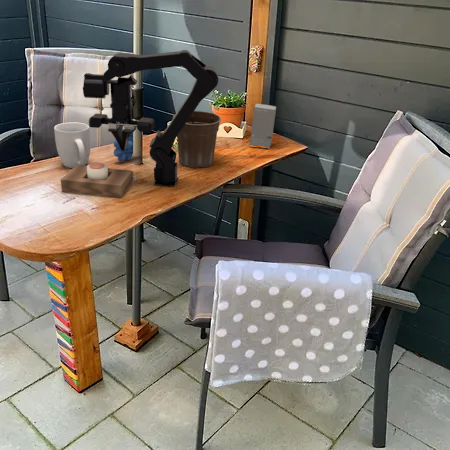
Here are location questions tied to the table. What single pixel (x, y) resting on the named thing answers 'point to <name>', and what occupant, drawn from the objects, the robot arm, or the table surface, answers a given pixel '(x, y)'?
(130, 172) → the brown wooden block
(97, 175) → the cream short cylinder
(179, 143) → the plant pot
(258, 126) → the skincare box
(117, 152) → the grapes
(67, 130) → the mug
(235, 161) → the table surface
